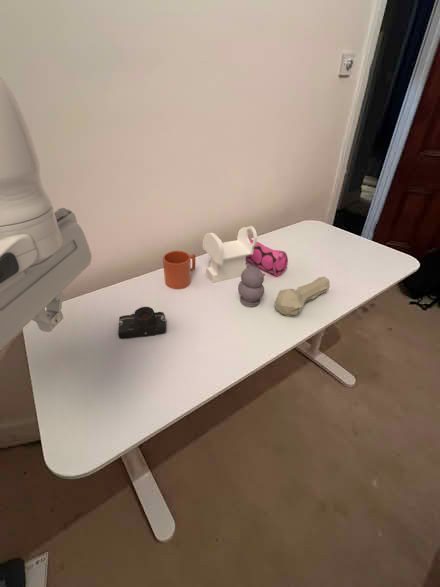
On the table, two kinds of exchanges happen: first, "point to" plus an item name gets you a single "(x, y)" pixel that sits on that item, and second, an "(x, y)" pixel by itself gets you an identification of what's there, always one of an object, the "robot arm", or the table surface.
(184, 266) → the mug
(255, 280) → the cat figurine
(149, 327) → the film camera
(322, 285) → the faceted club
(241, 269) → the tape dispenser
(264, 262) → the pencil case
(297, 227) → the table surface
